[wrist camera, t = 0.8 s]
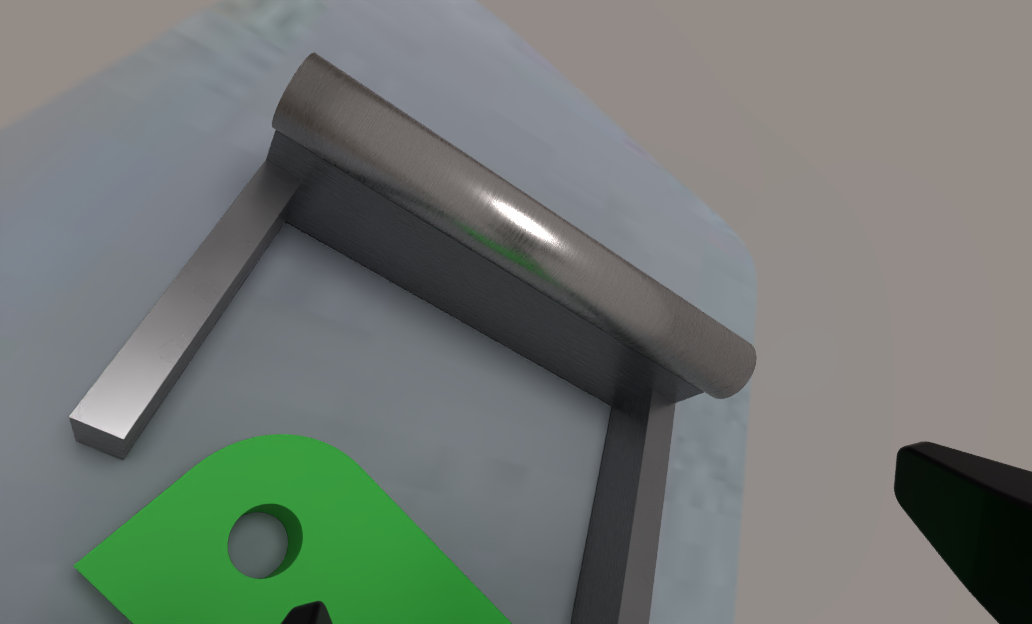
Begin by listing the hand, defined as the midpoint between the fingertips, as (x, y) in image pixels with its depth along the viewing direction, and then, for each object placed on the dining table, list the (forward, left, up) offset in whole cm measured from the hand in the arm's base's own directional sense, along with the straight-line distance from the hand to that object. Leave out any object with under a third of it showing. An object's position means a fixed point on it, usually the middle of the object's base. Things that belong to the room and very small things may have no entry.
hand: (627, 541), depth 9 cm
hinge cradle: (+8, 0, -12) cm, 14 cm away
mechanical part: (-2, 0, -12) cm, 12 cm away
